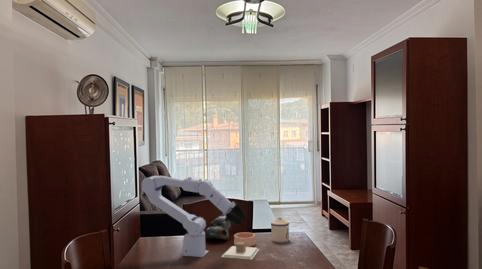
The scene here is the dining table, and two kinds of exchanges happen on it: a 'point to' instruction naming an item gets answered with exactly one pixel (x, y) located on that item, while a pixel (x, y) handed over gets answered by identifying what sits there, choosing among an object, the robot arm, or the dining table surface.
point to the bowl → (245, 238)
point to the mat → (239, 257)
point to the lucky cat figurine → (218, 229)
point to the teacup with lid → (280, 230)
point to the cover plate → (242, 255)
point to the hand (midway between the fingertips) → (243, 221)
